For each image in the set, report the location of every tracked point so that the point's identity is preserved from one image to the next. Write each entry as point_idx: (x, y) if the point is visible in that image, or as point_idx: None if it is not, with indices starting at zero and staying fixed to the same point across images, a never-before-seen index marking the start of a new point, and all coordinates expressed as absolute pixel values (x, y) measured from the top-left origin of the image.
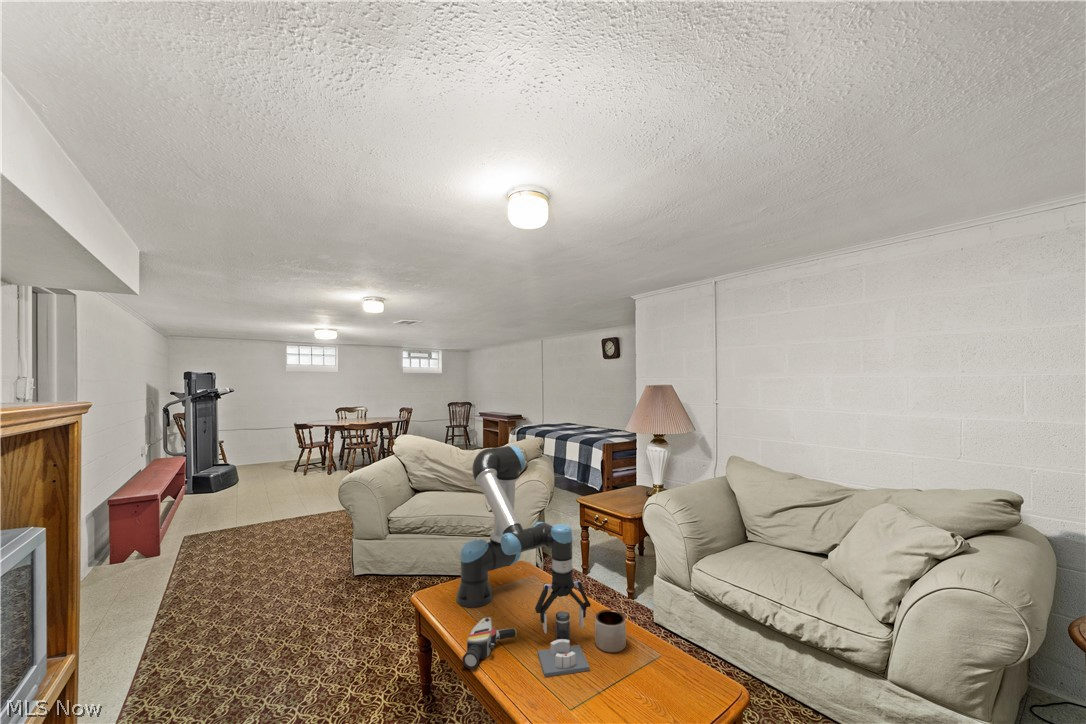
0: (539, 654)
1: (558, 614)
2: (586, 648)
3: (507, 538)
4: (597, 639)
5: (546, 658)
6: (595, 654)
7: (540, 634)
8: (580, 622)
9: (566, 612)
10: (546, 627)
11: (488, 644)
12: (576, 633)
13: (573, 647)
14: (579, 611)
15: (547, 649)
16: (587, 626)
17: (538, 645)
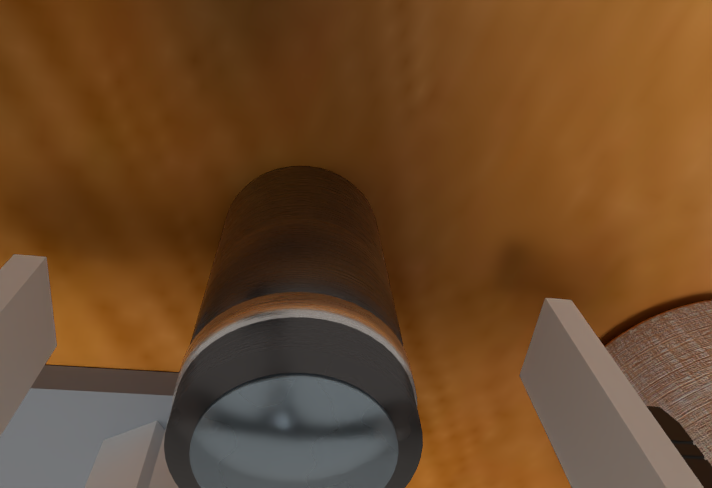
0: None
1: (217, 442)
2: (462, 398)
3: None
4: None
5: (53, 485)
6: (488, 468)
7: (51, 45)
8: (549, 379)
9: (395, 406)
10: (21, 397)
11: None
12: (496, 170)
13: None
14: (624, 448)
15: (80, 395)
16: (696, 79)
17: (7, 245)
